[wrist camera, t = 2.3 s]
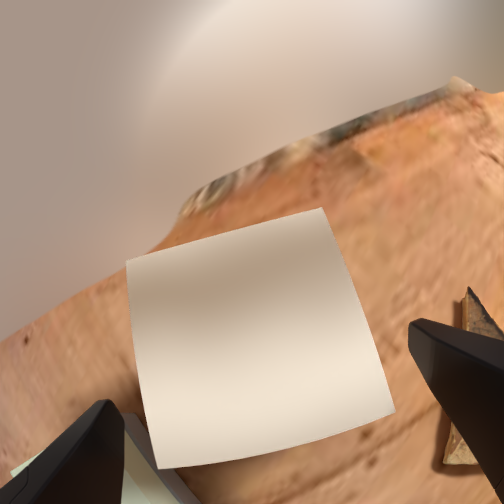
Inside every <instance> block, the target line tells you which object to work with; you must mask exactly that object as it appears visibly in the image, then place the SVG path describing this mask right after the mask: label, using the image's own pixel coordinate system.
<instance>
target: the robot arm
mask: <svg viewBox="0 0 504 504" xmlns="http://www.w3.org/2000/svg"><path fill="white" fill-rule="evenodd" d="M408 348H409V351H410V353H411V355H412V357H413V359H414V360H415V362H416V364H417V366H418V368H419V370H420V371H421V373H422V375H423V377H424V379H425V381H426V383H427V385H428V386H429V388H430V390H431V391H432V393H433V395H434V396H435V397H436V399H437V400H438V402H439V403H440V405H441V406H442V408H443V409H444V411H445V412H446V414H447V415H448V417H449V418H450V420H451V421H452V423H453V424H454V426H455V427H456V429H457V430H458V432H459V433H460V435H461V436H462V438H463V440H464V441H465V443H466V444H467V446H468V447H469V449H470V451H471V452H472V454H473V455H474V457H475V459H476V460H477V462H478V463H479V465H480V467H481V468H482V470H483V472H484V473H485V475H486V477H487V478H488V480H489V482H490V483H491V485H492V487H493V488H494V489H495V492H496V494H497V496H498V497H499V499H500V501H501V503H502V504H504V340H500V339H496V338H493V337H489V336H485V335H482V334H478V333H474V332H471V331H467V330H463V329H460V328H456V327H452V326H449V325H445V324H442V323H438V322H435V321H431V320H427V319H424V318H419V319H417V320H414V321H412V322H410V323H409V327H408ZM124 463H125V422H124V419H123V417H122V415H121V414H120V412H119V411H118V409H117V408H116V406H115V405H114V403H113V402H112V401H111V400H110V399H104V400H98V401H97V402H95V403H94V404H93V405H92V406H91V407H90V408H89V409H88V410H87V411H86V412H85V413H84V414H83V415H81V416H80V417H79V418H78V419H77V420H76V421H75V422H74V423H73V424H72V425H71V426H70V427H68V428H67V429H66V430H65V431H64V432H63V433H62V434H61V435H60V436H59V437H58V438H57V439H56V440H54V441H53V442H52V443H51V444H50V445H49V446H48V447H47V448H46V449H45V450H44V451H42V452H41V453H40V454H39V455H38V456H37V457H36V458H35V459H34V460H33V461H32V462H31V463H29V465H28V466H26V467H25V468H24V469H23V470H22V471H21V472H20V473H18V474H17V475H16V476H15V477H14V478H13V479H12V480H10V481H9V482H8V483H7V484H5V485H4V486H3V487H2V488H0V504H121V500H122V487H123V476H124Z"/></svg>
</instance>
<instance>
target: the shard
mask: <svg viewBox="0 0 504 504" xmlns="http://www.w3.org/2000/svg"><path fill="white" fill-rule="evenodd" d="M462 315H463V316H462V327H463V330H467V331H471V332H474V333H478V334H482V335H485V336H489V337H493V338H496V339H500V340H504V332H503V331H502V330H501V328H500V327H499V326H498V325H497V323H496V322H495V321H494V320H493V319H492V318H491V317H490V315H489V314H488V313H487V311H486V310H485V308H484V306H483V305H482V304H481V302H480V300H479V298H478V297H477V296H476V295H475V294H474V292H473V291H472V289H471V288H470V287H469V286H468V287H467V292H466V295H465V298H463V299H462ZM443 463H444V464H452V465H456V464H468V465H476V464H479V463H478V462H477V460H476V459H475V457H474V455H473V454H472V452H471V451H470V449H469V447H468V446H467V444H466V443H465V441H464V440H463V438H462V436H461V435H460V433H459V432H458V430H457V429H456V427H455V426H454V424H453V423H452V422H451V430H450V434H449V439H448V442H447V445H446V447H445V456H444V459H443Z"/></svg>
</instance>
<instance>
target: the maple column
mask: <svg viewBox="0 0 504 504" xmlns="http://www.w3.org/2000/svg"><path fill="white" fill-rule="evenodd" d="M126 274H127V287H128V299H129V309H130V319H131V327H132V336H133V343H134V351H135V358H136V364H137V371H138V377H139V383H140V389H141V394H142V400H143V405H144V410H145V415H146V420H147V425H148V429H149V434H150V438H151V443H152V447H153V451H154V455H155V459H156V463H157V467H158V469H168V468H179V467H188V466H197V465H204V464H212V463H218V462H225V461H231V460H236V459H242V458H247V457H252V456H257V455H261V454H266V453H270V452H275V451H279V450H283V449H287V448H291V447H295V446H299V445H302V444H306V443H309V442H313V441H316V440H320V439H323V438H326V437H329V436H333V435H336V434H339V433H342V432H345V431H348V430H350V429H353V428H356V427H359V426H362V425H364V424H367V423H370V422H372V421H375V420H377V419H380V418H382V417H385V416H387V415H390V414H392V413H395V408H394V405H393V401H392V398H391V394H390V391H389V388H388V384H387V381H386V378H385V375H384V371H383V368H382V365H381V362H380V359H379V356H378V353H377V350H376V347H375V344H374V341H373V338H372V335H371V332H370V329H369V326H368V323H367V320H366V318H365V315H364V312H363V309H362V306H361V304H360V301H359V298H358V296H357V293H356V290H355V288H354V285H353V282H352V280H351V277H350V274H349V272H348V269H347V267H346V264H345V262H344V259H343V257H342V254H341V252H340V249H339V247H338V244H337V242H336V239H335V237H334V234H333V232H332V230H331V227H330V225H329V223H328V220H327V218H326V215H325V213H324V211H323V209H322V208H318V209H314V210H310V211H306V212H302V213H298V214H294V215H290V216H286V217H282V218H279V219H275V220H271V221H267V222H263V223H259V224H256V225H252V226H248V227H244V228H241V229H237V230H233V231H230V232H226V233H222V234H218V235H215V236H211V237H208V238H204V239H200V240H197V241H193V242H189V243H186V244H182V245H179V246H175V247H172V248H168V249H165V250H161V251H157V252H154V253H150V254H147V255H144V256H140V257H137V258H133V259H130V260H126Z"/></svg>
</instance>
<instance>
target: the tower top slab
mask: <svg viewBox="0 0 504 504" xmlns="http://www.w3.org/2000/svg"><path fill="white" fill-rule="evenodd" d="M44 450H45V449H44ZM44 450H43V451H44ZM41 452H42V451H41ZM41 452H40V453H41ZM40 453H38V454H37V455H35V456H34V457H32V458H31V459H29V460H28V461H26V462H25V463H23V464H22V465H20V466H18V467H17V468H15V469H14V470H12V471H11V474H12V476H13V478H14V477H15V476H16V475H17V474H18V473H20V472H21V471H22V470H23V469H24V468H25V467H26V466H28V465H29V463H31V462H32V461H33V460H34V459H35V458H36V457H37V456H38V455H39V454H40ZM121 504H180V503H179V502H178V501H177V500H176V498H175V497H174V496H173V495H172V494H171V492H170V491H169V490H168V489H167V487H166V486H165V485H164V484H163V482H162V481H161V480H160V478H159V477H158V476H157V474H156V473H155V472H154V471H153V469H152V468H151V466H150V465H149V464H148V462H147V461H146V460H145V458H144V457H143V455H142V454H141V453H140V451H139V450H138V448H137V447H136V445H135V444H134V442H133V441H132V439H131V438H130V436H129V435H128V433H127V432H126V430H125V463H124V476H123V487H122V500H121Z"/></svg>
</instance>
